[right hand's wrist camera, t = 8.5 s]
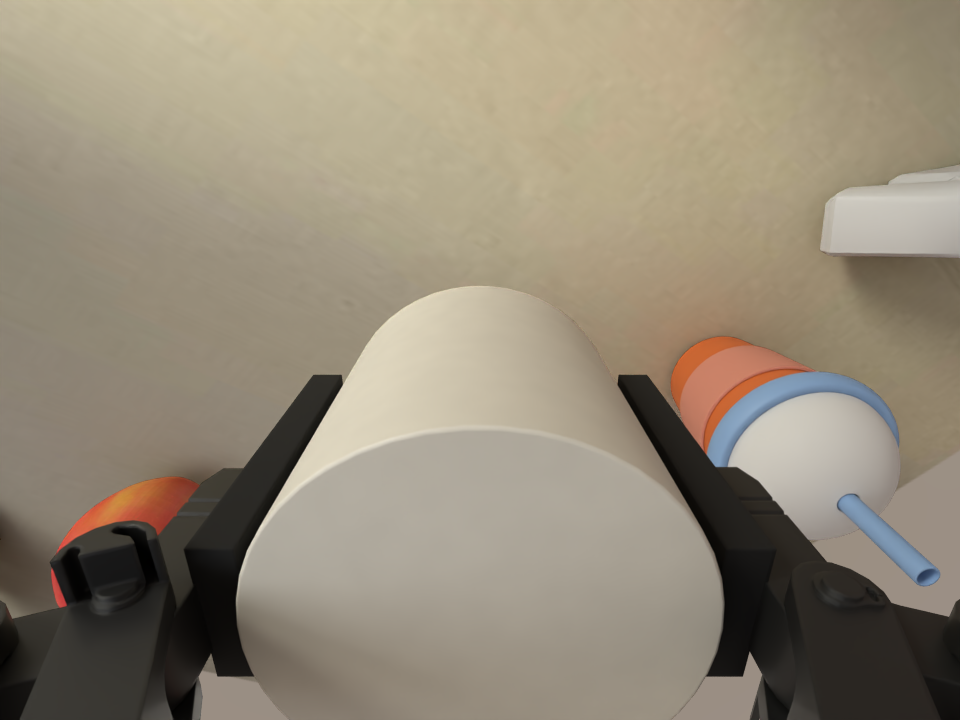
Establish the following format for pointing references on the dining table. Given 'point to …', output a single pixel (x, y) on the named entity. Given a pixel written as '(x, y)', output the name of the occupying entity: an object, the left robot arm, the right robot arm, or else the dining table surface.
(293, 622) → the canister
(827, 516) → the cup with straw
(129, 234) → the dining table surface
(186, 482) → the apple
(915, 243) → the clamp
